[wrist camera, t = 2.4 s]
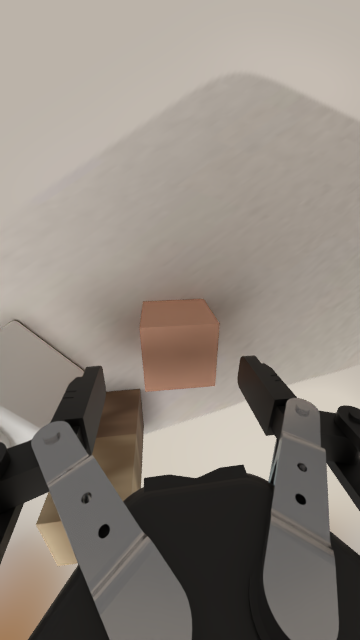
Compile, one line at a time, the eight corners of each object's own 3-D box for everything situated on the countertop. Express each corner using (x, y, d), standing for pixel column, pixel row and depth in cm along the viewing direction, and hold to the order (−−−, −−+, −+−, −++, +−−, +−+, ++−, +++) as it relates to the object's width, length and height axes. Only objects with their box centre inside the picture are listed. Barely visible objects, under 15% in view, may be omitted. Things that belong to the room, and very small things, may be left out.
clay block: (203, 298, 18) (219, 323, 14) (201, 349, 20) (214, 385, 16) (143, 301, 18) (139, 328, 13) (147, 353, 20) (145, 391, 15)
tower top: (136, 433, 17) (129, 511, 12) (141, 474, 19) (137, 553, 14) (68, 440, 16) (35, 524, 12) (81, 481, 18) (57, 566, 14)
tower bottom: (139, 388, 21) (136, 433, 17) (143, 425, 23) (141, 474, 19) (87, 393, 21) (68, 440, 16) (95, 430, 23) (81, 481, 18)
